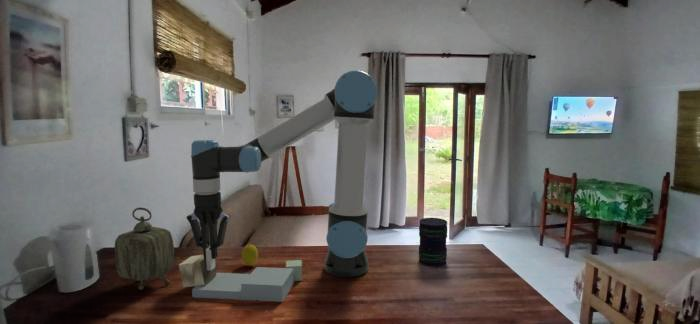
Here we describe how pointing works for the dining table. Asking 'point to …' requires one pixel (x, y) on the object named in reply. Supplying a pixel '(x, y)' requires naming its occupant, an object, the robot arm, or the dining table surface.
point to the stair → (249, 285)
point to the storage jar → (432, 242)
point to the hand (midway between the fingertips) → (211, 268)
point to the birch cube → (195, 271)
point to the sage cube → (295, 268)
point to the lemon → (249, 254)
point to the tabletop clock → (144, 252)
